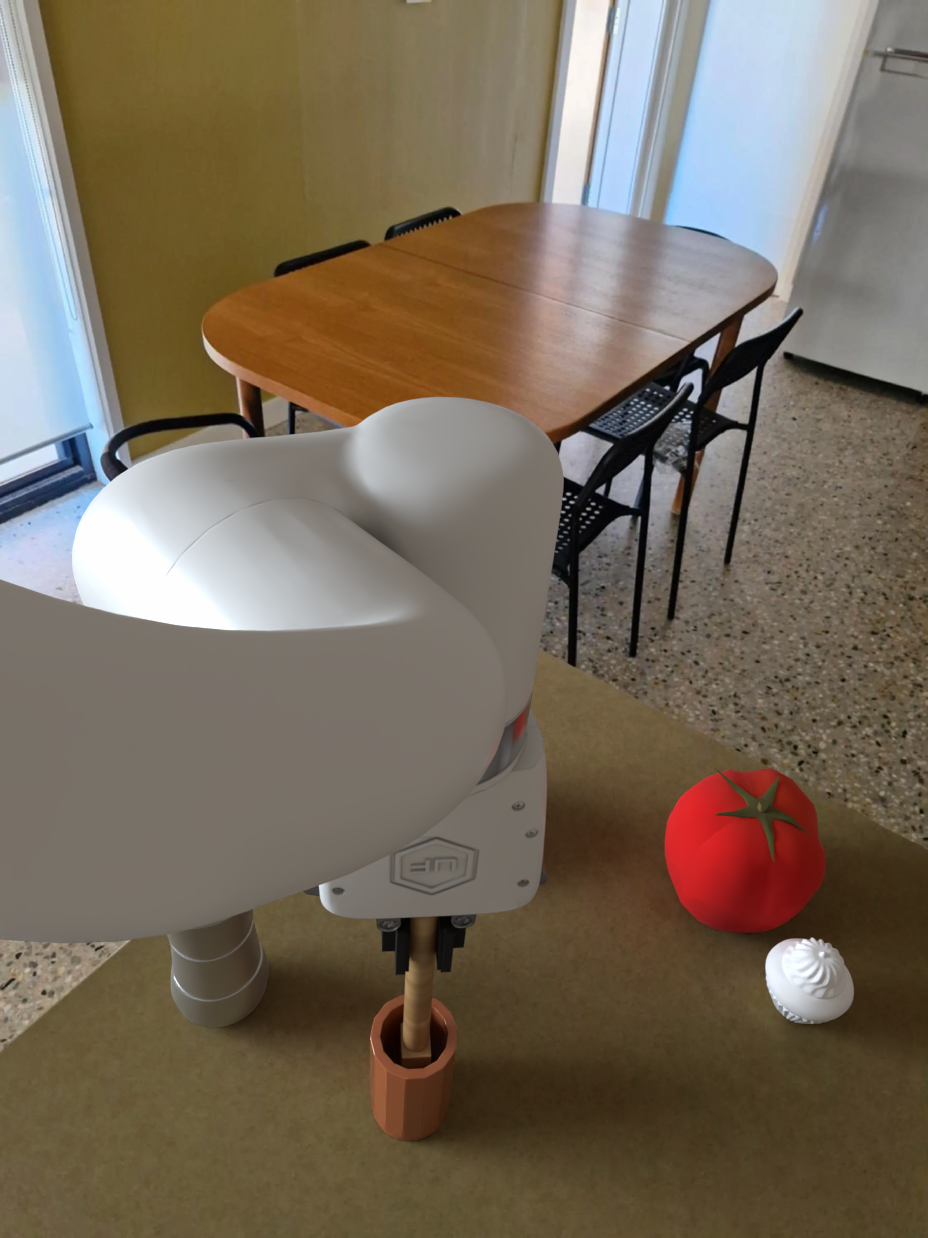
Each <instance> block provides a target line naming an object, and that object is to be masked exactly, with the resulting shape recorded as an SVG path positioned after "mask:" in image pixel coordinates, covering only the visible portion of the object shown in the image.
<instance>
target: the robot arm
mask: <svg viewBox="0 0 928 1238" xmlns="http://www.w3.org/2000/svg"><path fill="white" fill-rule="evenodd" d="M564 481H565V480H564V469H563V466H562V462H561V458H560V455H559V452H558V451H557V449H556V447H555V445H554V443H553V442H552V440H551V439H550V437H549V436H548V434H547V433H546V432H545V431H544V430H543V429H542V428H540V427H539V426H538V425H536V424H535V423H534V422H532V421H531V419H529V418H527V417H525V416H523V414H520V413H519V412H517V411H514V410H512V409H510V408H507V407H504V406H502V405H499V404H496V403H492V402H490V401H489V402H488V401H484V400H479V399H473V398H467V397H456V396H430V397H429V396H428V397H420V398H413V399H408V400H403V401H400V402H396V403H393V404H391V405H388V406H385V407H383V408H381V409H380V410H378V411H376V412H374V413H372V414H370V415H369V416H367V417H366V418H364V419H363V420H362V421H361V422H359V423H358V424H356V425H353V426H348V427H341V428H335V429H328V430H321V431H312V432H304V433H303V432H302V433H294V434H293V433H292V434H282V435H273V436H261V437H249V438H238V439H228V440H221V441H213V442H205V443H199V444H195V445H188V446H184V447H180V448H176V449H173V450H169V451H166V452H164V453H160V454H157V455H155V456H152V457H150V458H147V459H145V460H142V461H141V462H138V463H137V464H134V465H133V466H131V467H129V468H127V469H126V470H125V471H123V472H122V473H120V474H118V475H117V476H116V477H114V478H113V479H112V480H111V481H109V483H107V484H106V485H105V486H104V487H103V488H102V489H100V491H99V492H98V494H96V496H95V497H94V498H93V499H92V500H91V502H90V503H89V505H88V506H87V508H86V509H85V511H84V512H83V514H82V516H81V518H80V520H79V523H78V525H77V528H76V530H75V534H74V539H73V544H72V549H71V567H72V574H73V575H72V576H73V579H74V582H75V583H74V584H75V587H76V589H77V592H78V595H79V598H80V600H81V602H82V603H83V604H82V603H81V604H80V603H77V602H73V601H69V600H65V599H63V598H58V597H54V596H51V595H48V594H45V593H43V592H39V591H35V590H32V589H29V588H27V587H24V586H21V585H18V584H15V583H13V582H9V581H7V580H4V579H2V578H1V579H0V940H1V941H12V942H13V941H15V942H33V943H50V944H90V943H91V944H92V943H93V944H94V943H116V942H117V943H119V942H126V941H133V940H134V941H135V940H140V939H141V940H142V939H147V938H148V939H149V938H154V937H161V936H167V935H168V934H172V933H176V932H181V931H185V930H189V929H193V928H197V927H201V926H205V925H208V924H211V923H214V922H217V921H220V920H223V919H226V918H229V917H232V916H235V915H238V914H241V913H244V912H246V911H249V910H252V909H253V910H255V909H257V908H260V907H263V906H266V905H269V904H271V903H274V902H277V901H279V900H282V899H285V898H288V897H291V896H293V895H297V894H300V893H302V892H303V893H304V894H306V895H309V896H313V897H319V898H320V902H321V904H322V906H323V907H324V908H325V909H326V910H327V911H328V912H329V913H331V914H333V915H335V916H339V917H342V918H346V919H356V920H357V919H358V920H361V919H362V920H373V919H374V920H375V923H376V928H377V930H379V931H381V937H380V938H381V952H382V953H387V952H394V973H395V976H401V975H402V976H403V975H404V976H405V972H409V962H410V942H411V928H410V917H432V916H438V928H437V940H436V958H435V965H436V971H440V973H451V972H452V965H453V956H454V955H453V954H454V949H464V948H465V942H466V941H465V940H466V933H467V928H470V927H472V926H473V925H474V924H475V923H476V919H477V915H483V914H496V913H505V912H510V911H513V910H514V911H515V910H517V909H520V908H522V907H524V906H526V905H527V904H529V903H530V902H531V901H532V900H533V899H534V898H535V896H536V894H537V893H538V889H539V886H542V885H544V884H545V883H547V881H548V875H547V869H546V864H545V858H544V848H545V847H544V846H545V834H546V823H547V803H548V802H547V799H548V776H547V771H548V770H547V758H546V757H547V755H546V749H545V743H544V742H545V741H544V737H543V735H542V731H541V729H540V727H539V724H538V720H537V717H536V715H535V713H534V711H533V710H532V708H531V705H532V698H533V691H534V682H535V678H536V677H535V676H536V671H537V664H538V657H539V652H540V645H541V640H542V634H543V627H544V621H545V617H546V609H547V602H548V595H549V589H550V583H551V577H552V569H553V564H554V558H555V557H554V556H555V551H556V545H557V538H558V532H559V527H560V526H559V525H560V519H561V512H562V506H563V496H564V495H563V494H564V483H565V482H564Z"/></svg>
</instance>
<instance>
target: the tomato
mask: <svg viewBox="0 0 928 1238" xmlns="http://www.w3.org/2000/svg"><path fill="white" fill-rule="evenodd" d="M714 769H715V770H716V771H717V773H713V774H710V775H708V776H706V777H705V778H703V779H702V780H700V781H698V782H697V783H696V784H695V785H693V786H692V787H690V788H689V789H688V790H686V792H684V793H682V795H681V796H680V797H679V799H678V800H677V802H676V804H675V805H674V807H673V809H672V810H671V812H670V814H669V816H668V819H667V821H666V828H665V836H664V859H665V863H666V867H667V870H668V871H667V872H668V875H669V877H670V879H671V882H672V885H673V887H674V890H675V892H676V895H677V898H678V900H679V902H680V904H681V905H682V906H683V907H684V909H686V910H687V912H689V913H690V914H691V915H692V916H693V917H694V918H695V920H697V921H698V922H699V923H701V924H703V925H705V926H707V927H708V928H711V929H713V930H715V931H720V932H728V933H736V934H737V933H738V934H747V933H748V934H749V933H751V934H752V933H753V934H754V933H766V932H769V931H772V930H774V929H776V928H778V927H780V926H782V925H784V924H787V923H788V922H789V921H790V920H791V919H793V918H794V917H796V915H798V914H799V913H801V912H802V911H803V909H804V908H805V907H806V905H807V904H808V903H809V902H810V900H811V899H812V898H813V896H814V895H815V894H816V893H817V891H818V890H819V889H820V887H821V886H823V881H824V877H825V873H826V869H827V866H826V860H827V859H826V850H825V848H824V846H823V844H822V842H821V840H820V834H819V823H818V813H817V810H816V807H815V804H814V802H813V801H811V799H810V797H808V795H807V794H806V793H805V792H804V791H803V789H802V788H801V787H800V786H799V785H798V784H797V783H796V782H795V781H794V780H793V779H792V778H791V777H789V776H787V775H785V774H784V773H782V772H780V771H778V770H776V769H774V768H772V767H768V768H767V767H766V768H761V769H757V770H750V771H744V772H743V771H739V770H734V769H726V770H724V771H720V770H718V769H717V768H716V767H714Z"/></svg>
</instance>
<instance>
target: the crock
mask: <svg viewBox="0 0 928 1238" xmlns="http://www.w3.org/2000/svg"><path fill="white" fill-rule="evenodd" d="M404 995H405V993H403V994H400V995H398V996H396V997H395V998H393V999H390V1000H389V1001H387V1002H386V1003H385V1004H383V1006H382V1007H381V1008H380V1010H379V1011H378V1013H377V1014H376V1015H375V1016H374V1018H373V1021H372V1026H371V1031H370V1035H369V1099H370V1107H371V1112H372V1115H373V1118H374V1120H375V1122H376V1124H377V1125H378V1127H379V1128H380V1129H381V1130H382V1131H383V1132H384V1133H386V1134H387V1135H388V1136H390V1137H391V1138H394V1139H397V1140H400V1141H404V1142H405V1141H406V1142H414V1141H419V1140H422V1139H425V1138H426V1137H428V1136H430V1135H431V1134H433V1133H434V1132H435V1131H436V1130H437V1129H438V1128H439V1127H440V1126H441V1125H442V1123H443V1121H444V1120H445V1118H446V1115H447V1113H448V1110H449V1103H450V1102H449V1101H450V1098H451V1097H450V1096H451V1089H452V1081H453V1073H454V1067H455V1059H456V1052H457V1045H458V1037H459V1031H458V1027H457V1024H456V1022H455V1021H456V1020H455V1018H454V1015H453V1014H452V1012H451V1011H450V1010H449V1009H448V1008H447V1007H446V1005H444V1003H442V1001H441V1000H439V999H437V998H435V997H432V1007H431V1019H430V1042H431V1064H430V1065H428V1066H427V1067H425V1068H418V1069H407V1068H404V1067H402V1066H400V1024H401V1023H403V1018H404Z"/></svg>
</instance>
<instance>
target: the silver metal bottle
mask: <svg viewBox="0 0 928 1238" xmlns="http://www.w3.org/2000/svg"><path fill="white" fill-rule="evenodd" d="M166 936H167V939H168V942H169V945H170V953H171V968H170V992H171V997H172V999H173V1003H174V1004H175V1005H176V1007H177V1008H178V1010H179V1011H180V1013H181V1014H182V1015H183V1016H184V1018H185V1019H187V1020H188V1021H189V1022H190V1023H193V1024H194V1025H196V1026H199V1027H203V1028H208V1029H209V1028H210V1029H216V1028H223V1027H228V1026H231V1025H234V1024H236V1023H238V1022H239V1021H241V1020H244V1019H245V1018H246V1017H247V1016H249V1015H250V1014H252V1012H253V1011H255V1009H256V1008H257V1007H258V1006H259V1004H260V1003H261V1001H262V999H263V997H264V995H265V993H266V989H267V984H268V979H269V976H270V963H269V960H268V959H269V958H268V955H267V953H266V949H265V947H264V946H263V944H262V942H261V940H260V939H259V935H258V933H257V929H256V925H255V917H254V909H252V910H249V911H246V912H244V913H241V914H238V915H235V916H232V917H229V918H226V919H223V920H220V921H217V922H214V923H211V924H208V925H205V926H201V927H197V928H193V929H189V930H185V931H181V932H176V933H172V934H168V935H166Z"/></svg>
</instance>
